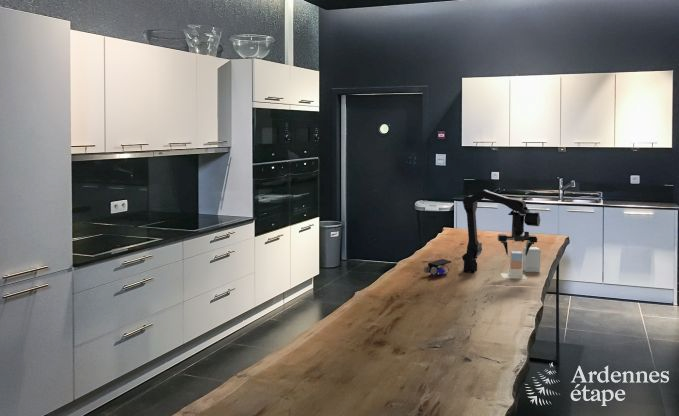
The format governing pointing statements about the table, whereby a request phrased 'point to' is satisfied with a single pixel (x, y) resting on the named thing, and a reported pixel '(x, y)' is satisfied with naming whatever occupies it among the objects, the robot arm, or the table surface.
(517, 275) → the base brick
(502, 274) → the baseplate
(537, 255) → the supplement box
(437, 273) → the figurine character
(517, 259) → the blue brick
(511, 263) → the terracotta brick
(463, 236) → the table surface
